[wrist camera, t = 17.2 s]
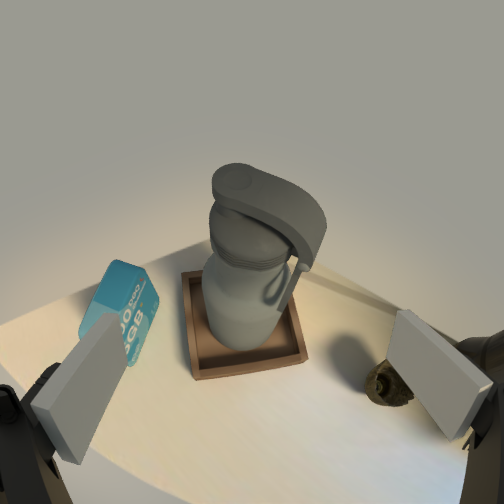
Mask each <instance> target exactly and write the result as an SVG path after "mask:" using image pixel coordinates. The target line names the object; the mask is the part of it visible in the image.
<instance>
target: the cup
mask: <svg viewBox="0 0 504 504" xmlns="http://www.w3.org/2000/svg"><path fill="white" fill-rule="evenodd" d="M376 383H377V384H378V387H379V388H378V391H376ZM365 391H366V394H367V396H368V398H369V399H370V400H371V401H372V402H374V403H376V404H378V405H382V406H392V407H398V406H403V405H406V404H408V400H412V399H414V396H413V395H414V393H413V392H412V390H411V389H410V388H409V387H408V385H407V384H406V383H405V381H404V380H403V379H402V377H401V376H400V375H399V374H398V372H397V371H396V370H395V369H394V367H393V366H392V365H391V363H390V362H389V361H388V360H387V359H386V360H384V361H383V362H381V363H380V364H379V365H377V366H376V367H375V368H374V369H373V370H372V371H371V372H370V373H369V375H368V376H367V379H366V382H365Z"/></svg>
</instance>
